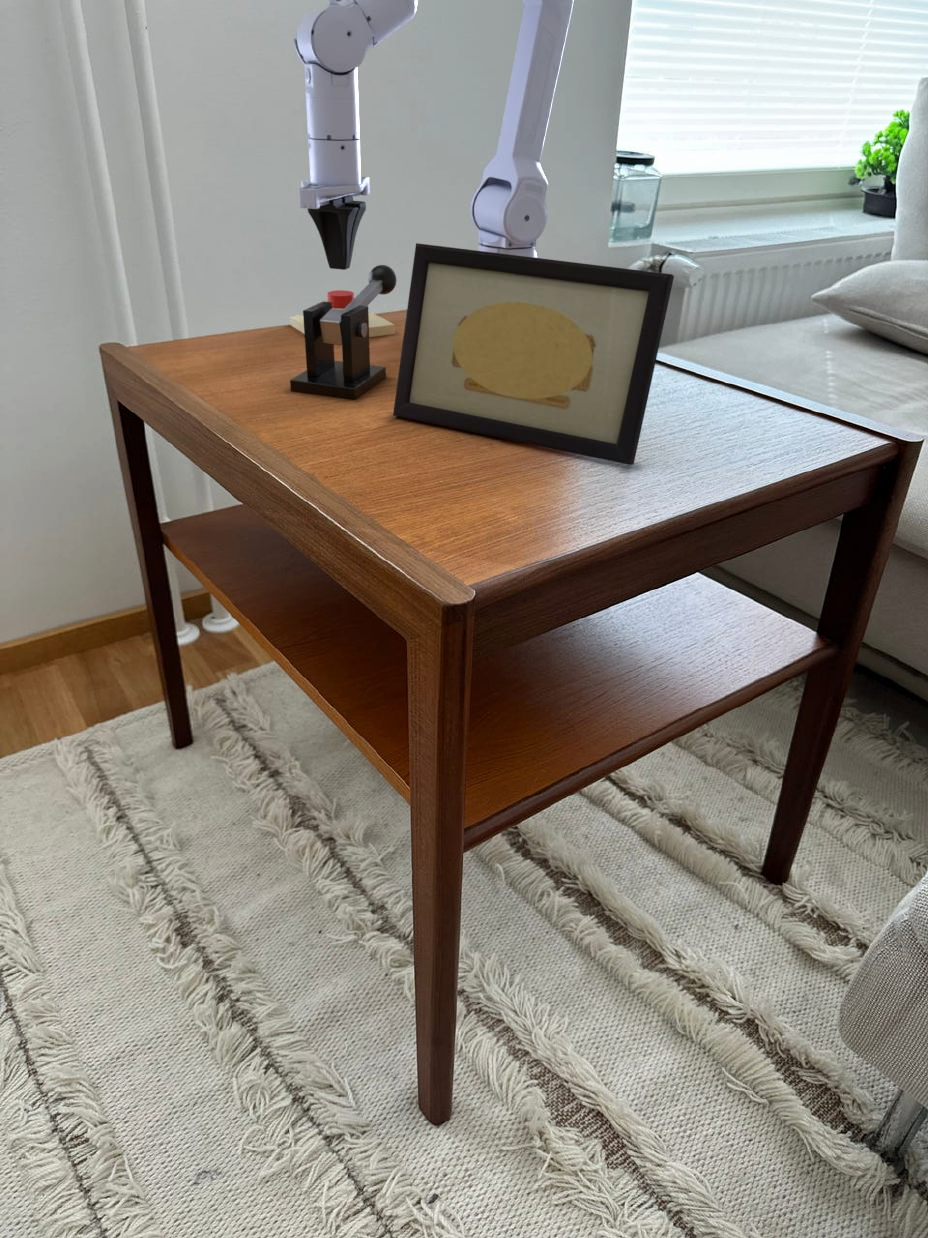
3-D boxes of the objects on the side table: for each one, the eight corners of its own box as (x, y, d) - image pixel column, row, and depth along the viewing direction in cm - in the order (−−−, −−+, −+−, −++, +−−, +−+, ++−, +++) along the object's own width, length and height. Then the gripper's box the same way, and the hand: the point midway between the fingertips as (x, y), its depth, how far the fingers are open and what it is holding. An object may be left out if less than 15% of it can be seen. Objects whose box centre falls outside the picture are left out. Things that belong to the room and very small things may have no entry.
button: (348, 303, 110) (347, 289, 109) (358, 309, 108) (358, 294, 107) (324, 306, 109) (323, 291, 108) (334, 312, 107) (333, 296, 106)
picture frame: (391, 417, 83) (399, 243, 76) (438, 402, 90) (449, 242, 84) (628, 467, 74) (660, 275, 68) (659, 446, 81) (690, 270, 75)
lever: (376, 286, 99) (373, 259, 97) (401, 289, 98) (399, 261, 96) (319, 345, 89) (314, 316, 87) (346, 348, 88) (343, 319, 86)
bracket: (325, 370, 96) (321, 296, 92) (386, 378, 94) (384, 303, 90) (290, 391, 89) (284, 313, 85) (354, 400, 87) (351, 320, 83)
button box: (364, 317, 115) (363, 293, 114) (395, 334, 109) (394, 308, 107) (290, 325, 111) (288, 300, 109) (318, 343, 104) (316, 317, 103)
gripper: (329, 133, 106) (335, 254, 113) (269, 140, 94) (280, 275, 101) (384, 136, 104) (386, 259, 111) (330, 144, 92) (336, 281, 99)
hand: (339, 268), depth 106 cm, fingers closed
